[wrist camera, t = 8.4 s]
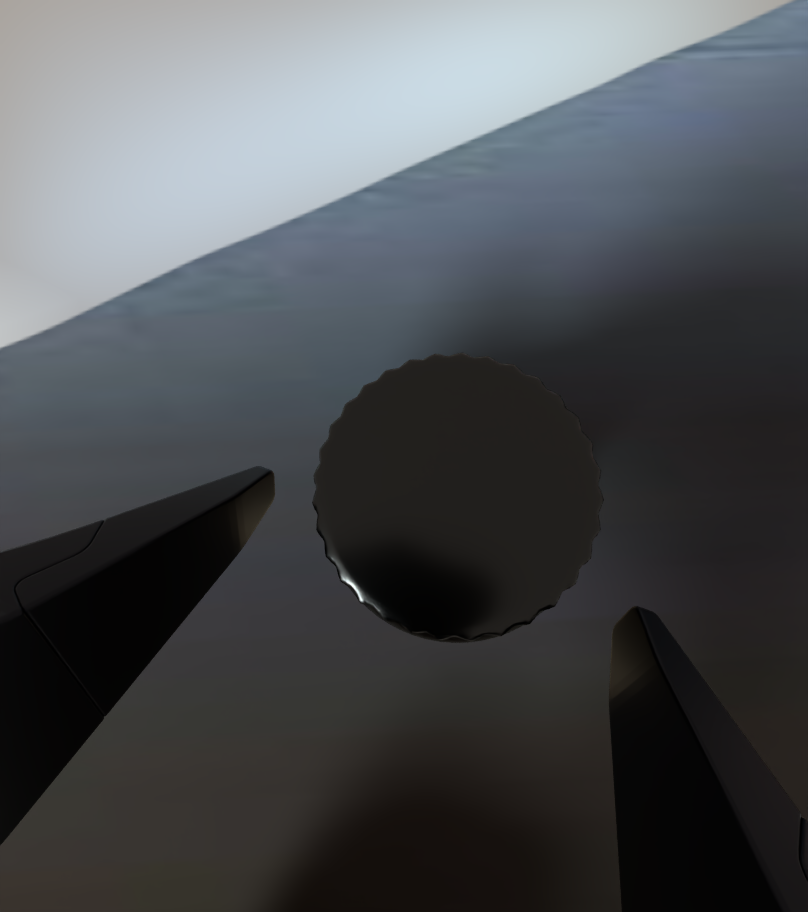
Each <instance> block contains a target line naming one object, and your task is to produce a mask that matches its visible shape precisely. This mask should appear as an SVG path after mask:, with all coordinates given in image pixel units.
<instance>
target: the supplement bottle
mask: <svg viewBox="0 0 808 912" xmlns="http://www.w3.org/2000/svg"><path fill="white" fill-rule="evenodd" d="M592 451H593V446H592V442H591V441H590V439H589V438H588V437H587V436H586V435H585V434H584V433H583V432H582V430H581V427H580V421H579V418H578V417H577V416H576V415H575V414H574V413H572V412H571V411H569V410H568V409H566V407H565V404H564V402H563V400H562V398H561V396H560V395H558V394H556V393H555V392H552V391H550V390H548V389H546V387H545V386H544V385H543V383H542V382H541V380H540V379H539V378H537V377H534V376H531V375H526V374H524V373H523V372H522V371H521V370H520V369H519V368H518V367H516V366H515V365H512V364H500V363H498V362H496V361H495V360H494V359H492V358H490V357H488V356H486V357H476V358H473V357H471V356H469V355H467V354H464V353H458V354H454V355H451V356H443V355H440V354H434V355H431V356H429V357H427V358H425V359H424V360H409V361H407V362H406V363H404V364H403V365H402V366H401V367H400V368H397V369H391V370H387V371H385V372H384V373H383V374H382V375H381V376H380V378H379V379H378V380H377V381H374V382H371V383H369V384H367V385H364V386H363V388H362V389H361V391H360V393H359V395H358V396H357V397H356V398H354V399H352V400H351V401H349V402H348V403H346V404H345V406H344V408H343V411H342V414H341V417H339V418H338V419H337V420H336V421H334V422H333V423H332V424H331V425H330V430H329V437H328V439H327V441H326V442H325V443H324V444H323V445H322V447H321V448H320V454H319V457H320V464H319V466H318V467H317V469H316V471H315V473H314V482H315V484H316V492H315V495H314V498H313V502H312V503H313V506H314V508H315V510H316V512H317V514H318V518H317V529H316V530H317V532H318V533H319V535H320V536H321V537H322V538H323V540H324V542H325V554H326V557H327V558H328V559H329V560H330V561H331V562H332V563H333V564H334V565H335V566H336V568H337V572H338V575H339V578H340V581H341V582H342V583H344V584H345V585H347V586H348V587H349V588H350V590H351V591H352V592H353V593H354V595H355V596H356V597H357V599H358V600H359V602H360V603H362V604H364V605H365V606H366V607H367V608H368V609H369V610H370V611H372V612H373V613H374V614H375V615H376V616H378V617H379V618H381V619H382V620H384V621H385V622H387V623H388V624H390V625H392V626H394V627H396V628H398V629H400V630H402V631H404V632H407V633H409V634H411V635H414V636H418V637H421V638H424V639H429V640H434V641H439V642H451V643H465V642H475V641H482V640H486V639H490V638H495V637H498V636H502V635H504V634H506V633H509V632H511V631H513V630H515V629H517V628H519V627H521V626H523V625H527V624H530V623H531V622H532V621H533V620H534V619H535V617H536V616H538V615H539V614H540V613H541V612H543V611H544V610H547V609H550V608H552V607H555V605H556V603H557V602H558V600H559V598H560V595H561V593H562V592H563V591H564V590H566V589H569V588H570V587H572V586H573V585H575V584H576V581H577V578H578V574H579V569H580V568H581V567H582V565H584V564H586V563H587V562H588V561H589V560H590V559H591V554H592V541H593V539H594V538H595V537H596V536H597V535H598V533H599V531H600V530H601V529H600V520H599V515H598V513H599V511H600V509H601V506H602V504H603V501H604V499H603V496H602V493H601V490H600V488H599V486H598V483H599V479H600V474H601V470H600V468H599V466H598V464H597V463H596V461H595V460H594V458H593V455H592Z"/></svg>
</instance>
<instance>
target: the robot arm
mask: <svg viewBox="0 0 808 912" xmlns="http://www.w3.org/2000/svg"><path fill="white" fill-rule="evenodd" d="M274 496H275V482H274V473H273V471H271V470H269V469H266V468H264V467H261V466H256V467H253V468H250V469H247V470H244V471H241V472H239V473H236V474H233V475H230V476H227V477H224V478H221V479H218V480H216V481H213V482H210V483H207V484H204V485H201V486H198V487H195V488H192V489H190V490H187V491H184V492H181V493H178V494H175V495H172V496H169V497H167V498H164V499H161V500H158V501H155V502H152V503H149V504H146V505H144V506H141V507H138V508H135V509H132V510H129V511H126V512H123V513H120V514H118V515H115V516H112V517H109V518H106V519H105V521H104V520H100V521H97V522H94V523H91V524H88V525H86V526H83V527H80V528H77V529H74V530H71V531H68V532H65V533H61V534H58V535H55V536H52V537H49V538H46V539H42V540H39V541H36V542H32V543H29V544H25V545H22V546H19V547H15V548H12V549H8V550H5V551H1V552H0V845H1V844H2V843H3V842H4V840H5V839H6V838H7V837H8V836H9V835H10V833H11V832H12V831H13V830H14V828H15V827H16V826H17V825H18V824H19V822H20V821H21V820H22V819H23V817H24V816H25V815H26V814H27V812H28V811H29V810H30V809H31V808H32V806H33V805H34V804H35V803H36V801H37V800H38V799H39V798H40V797H41V795H42V794H43V793H44V792H45V790H46V789H47V788H48V787H49V786H50V784H51V783H52V782H53V781H54V779H55V778H56V777H57V776H58V775H59V773H60V772H61V771H62V770H63V768H64V767H65V766H66V765H67V763H68V762H69V761H70V760H71V759H72V757H73V756H74V755H75V754H76V752H77V751H78V750H79V749H80V748H81V746H82V745H83V744H84V743H85V741H86V740H87V739H88V738H89V737H90V735H91V734H92V733H93V732H94V730H95V729H96V728H97V727H98V726H99V724H100V723H101V722H102V721H103V719H104V716H106V715H107V714H108V713H109V712H110V710H111V709H112V708H113V707H114V706H115V704H116V703H117V702H118V701H119V699H120V698H121V697H122V696H123V694H124V693H125V692H126V691H127V690H128V688H129V687H130V686H131V685H132V683H133V682H134V681H135V680H136V679H137V677H138V676H139V675H140V674H141V672H142V671H143V670H144V669H145V668H146V666H147V665H148V664H149V663H150V661H151V660H152V659H153V658H154V657H155V655H156V654H157V653H158V652H159V650H160V649H161V648H162V647H163V645H164V644H165V643H166V642H167V641H168V639H169V638H170V637H171V636H172V634H173V633H174V632H175V631H176V630H177V628H178V627H179V626H180V625H181V623H182V622H183V621H184V620H185V619H186V617H187V616H188V615H189V614H190V612H191V611H192V610H193V609H194V607H195V606H196V605H197V604H198V603H199V601H200V600H201V599H202V598H203V596H204V595H205V594H206V593H207V592H208V590H209V589H210V588H211V587H212V585H213V584H214V583H215V582H216V581H217V579H218V578H219V577H220V576H221V574H222V573H223V572H224V571H225V570H226V568H227V567H228V566H229V565H230V563H231V562H232V561H233V560H234V558H235V557H236V556H237V555H238V553H239V552H240V551H241V549H242V548H243V547H244V545H245V544H246V542H247V541H248V539H249V538H250V536H251V534H252V533H253V531H254V530H255V528H256V527H257V525H258V524H259V522H260V521H261V519H262V518H263V516H264V514H265V513H266V511H267V510H268V508H269V507H270V505H271V504H272V502H273V500H274ZM609 712H610V729H611V744H612V760H613V776H614V792H615V808H616V824H617V840H618V856H619V872H620V888H621V904H622V912H808V822H807V821H806V820H805V819H804V818H802V817H801V813H800V811H799V810H798V809H797V807H796V806H795V804H794V803H793V802H792V800H791V799H790V798H789V796H788V795H787V793H786V792H785V791H784V789H783V788H782V787H781V785H780V784H779V782H778V781H777V780H776V778H775V777H774V775H773V774H772V773H771V771H770V770H769V769H768V767H767V766H766V764H765V763H764V762H763V760H762V759H761V758H760V756H759V755H758V753H757V752H756V751H755V749H754V748H753V746H752V745H751V744H750V742H749V741H748V740H747V738H746V737H745V735H744V734H743V733H742V731H741V730H740V729H739V727H738V726H737V724H736V723H735V722H734V720H733V719H732V718H731V716H730V715H729V713H728V712H727V711H726V709H725V708H724V706H723V705H722V704H721V702H720V701H719V700H718V698H717V697H716V695H715V694H714V693H713V691H712V690H711V689H710V687H709V686H708V684H707V683H706V682H705V680H704V679H703V678H702V676H701V675H700V673H699V672H698V671H697V669H696V668H695V666H694V665H693V664H692V662H691V661H690V660H689V658H688V657H687V655H686V654H685V653H684V651H683V650H682V649H681V647H680V646H679V644H678V643H677V642H676V640H675V639H674V638H673V636H672V635H671V633H670V632H669V631H668V629H667V628H666V626H665V625H664V624H663V622H662V621H661V620H660V618H659V617H658V616H657V615H656V614H655V613H654V612H652V611H649V610H647V609H644V608H641V607H638V606H634V607H632V608H631V609H630V610H629V611H628V612H627V613H626V614H625V615H624V616H623V617H622V618H621V619H620V620H619V621H618V622H617V623H616V625H615V626H614V629H613V633H612V648H611V668H610V687H609Z"/></svg>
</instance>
